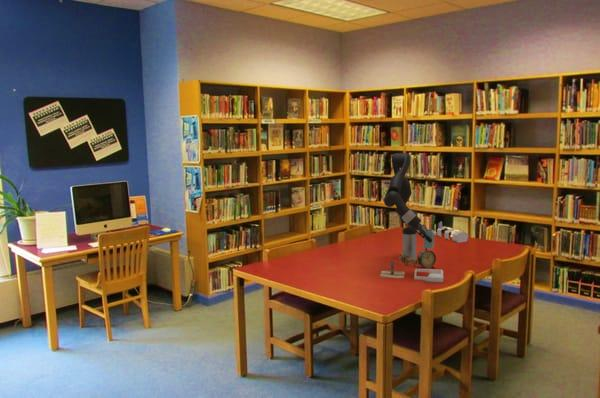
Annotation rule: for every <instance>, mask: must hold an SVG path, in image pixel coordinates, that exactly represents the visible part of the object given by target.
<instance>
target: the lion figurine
mask: <svg viewBox="0 0 600 398" xmlns="http://www.w3.org/2000/svg"><path fill="white" fill-rule="evenodd" d="M398 259H399V261H401V263H403V264H404V266H406V267H407V266H408V265H410V264H413V266H415V267H416V269H419V268H420V267H421V265H420V264H419V263H418V258H417V257H416V258H409V257H408V256H407V255H405V254H403V252H401V253H399V254H398ZM418 267H419V268H418Z"/></svg>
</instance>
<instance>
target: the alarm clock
mask: <svg viewBox="0 0 600 398" xmlns="http://www.w3.org/2000/svg"><path fill="white" fill-rule="evenodd" d="M436 257H437V256H436V253H435V252H434V251H432V250H431V249H428V248H424V249H423V250H421V251H420V252H419V253H418V255H417V261H418V263H419V266H420V267H421V269H430V268H432V269H434V265H435V263H436V261H437V258H436ZM418 263H417V264H418Z"/></svg>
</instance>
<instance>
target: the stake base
mask: <svg viewBox="0 0 600 398" xmlns="http://www.w3.org/2000/svg"><path fill="white" fill-rule="evenodd" d="M405 273H406V271H404V270H395V261H394V260H391V261H390V270H381V271H380V275H379V278H389V279H391V278H392V279H405Z"/></svg>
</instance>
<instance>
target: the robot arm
mask: <svg viewBox="0 0 600 398" xmlns="http://www.w3.org/2000/svg"><path fill="white" fill-rule="evenodd" d="M410 165H411V155H410V154H409V153H404V152H403V153H402V152H397V153H393V154H392V156H391V166H392V170H393V174H394V175H393V176H392V177H391V178H390V181H389V185H388V189H387V191H386V193H385V195H384V197H383V203H384V205H385V206H386V207H387V208H392V207H394V206H396V208H395V213H396V214H397V215H398V216H399V219H400V222H401V223H402V224H406V225H407V226H408V227H404V228H403V229H402V253H403V254H405V255H407V256H408V257H409V258H416V259H417V254H418V253H417V245H418V244H417V234H418V235H419V236H420V237H421V238H422V239H424V238H425V239H426V240H427V241H428V242H429V243H430V242H432V239H431V238H430V237H429V236H428V235H427V234H426V232H425V230H426V231H427V230H429V229H428V228H427V227H426V225H425V224H422V223H421V222H422V219H421V218H419V216H418V212H417V210H415V209H410V208H409V206H407V205H406V204H407V202H408V201H409V199H410V198H411V195H412V193H413V192H412V186H411V182H410V180H408V178H407V177H406V174H407V172H408V170H409V168H410Z"/></svg>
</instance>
